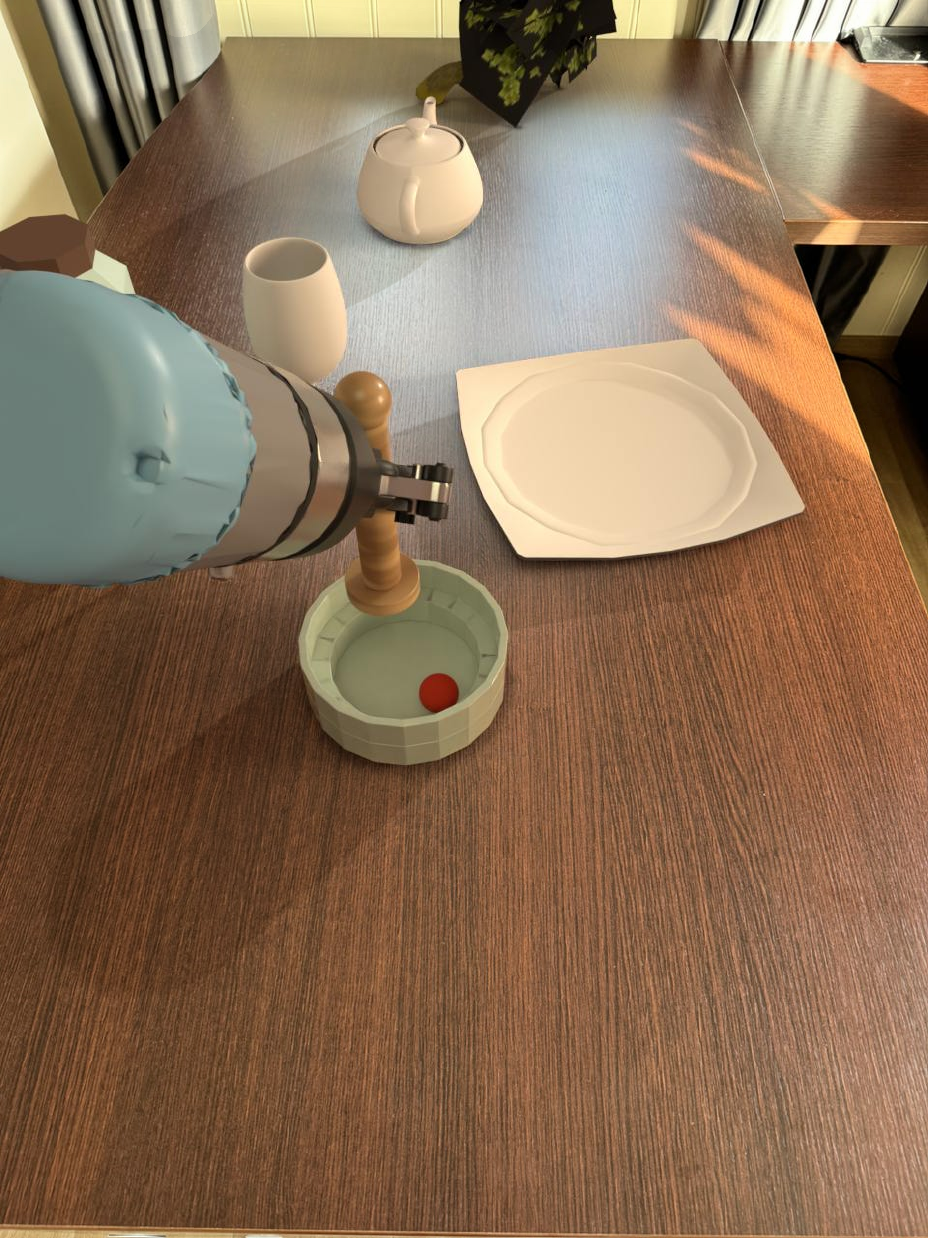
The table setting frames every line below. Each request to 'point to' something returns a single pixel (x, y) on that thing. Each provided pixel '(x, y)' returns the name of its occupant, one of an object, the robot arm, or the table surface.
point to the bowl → (405, 667)
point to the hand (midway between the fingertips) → (392, 487)
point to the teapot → (419, 181)
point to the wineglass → (294, 307)
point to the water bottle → (60, 251)
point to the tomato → (438, 692)
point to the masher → (377, 513)
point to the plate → (619, 453)
